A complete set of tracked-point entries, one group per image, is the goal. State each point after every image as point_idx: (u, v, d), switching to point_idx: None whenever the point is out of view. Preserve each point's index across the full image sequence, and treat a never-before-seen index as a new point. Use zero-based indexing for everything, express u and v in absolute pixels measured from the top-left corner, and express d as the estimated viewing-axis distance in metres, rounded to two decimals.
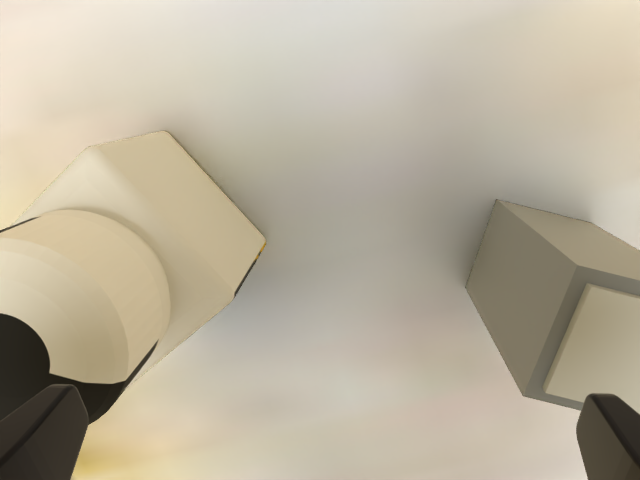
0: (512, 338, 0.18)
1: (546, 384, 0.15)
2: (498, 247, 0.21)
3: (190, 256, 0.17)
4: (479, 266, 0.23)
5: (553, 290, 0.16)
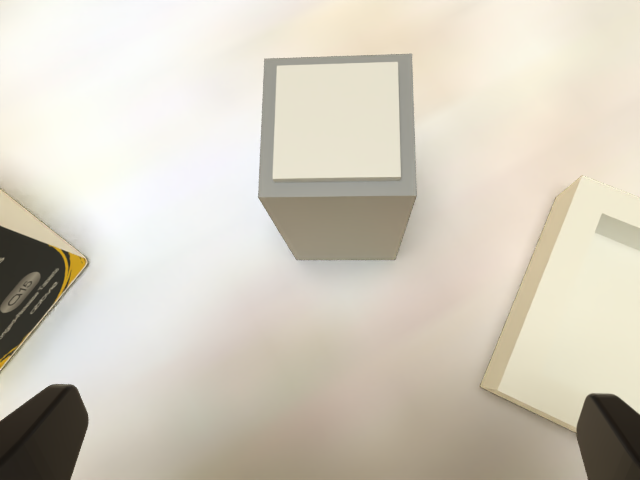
0: None
1: None
2: None
3: None
4: None
5: None
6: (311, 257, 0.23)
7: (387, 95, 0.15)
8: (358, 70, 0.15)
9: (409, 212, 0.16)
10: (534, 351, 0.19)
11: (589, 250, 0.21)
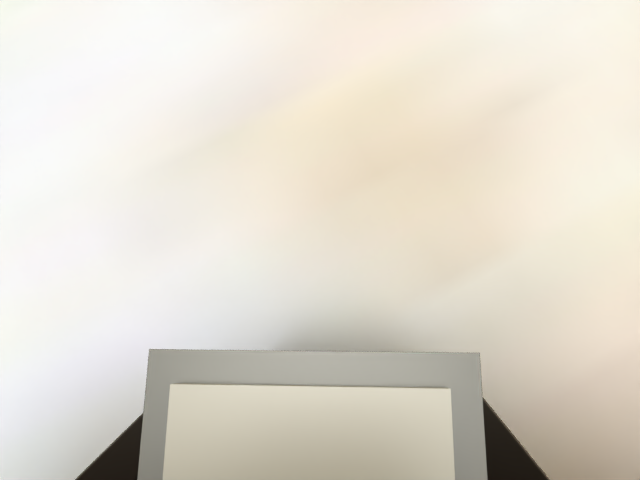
0: None
1: None
2: None
3: None
4: None
5: None
6: None
7: None
8: (358, 408, 0.06)
9: None
10: None
11: None
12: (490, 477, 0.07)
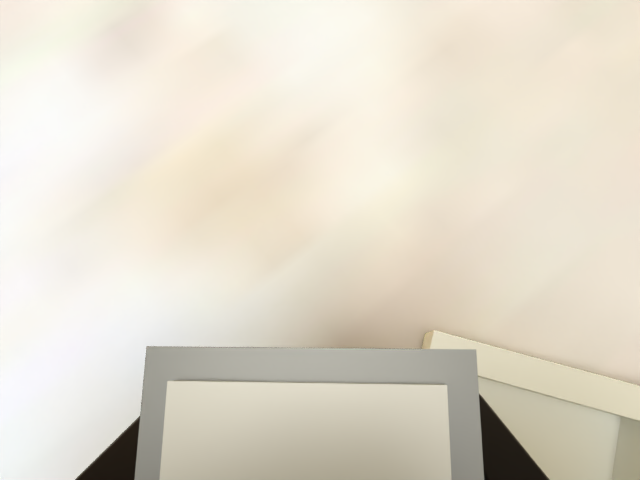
0: None
1: None
2: None
3: None
4: None
5: None
6: None
7: (424, 478, 0.06)
8: (354, 404, 0.06)
9: None
10: None
11: None
12: (490, 477, 0.07)
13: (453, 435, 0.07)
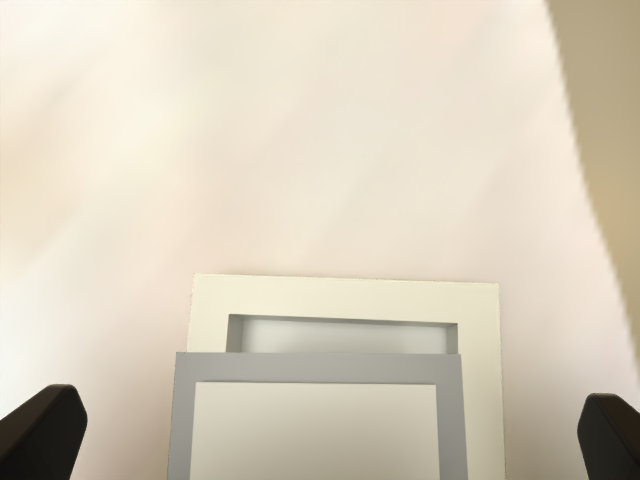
0: None
1: None
2: None
3: None
4: None
5: None
6: None
7: (416, 463, 0.07)
8: (357, 402, 0.07)
9: None
10: None
11: (261, 345, 0.17)
12: None
13: (441, 427, 0.08)
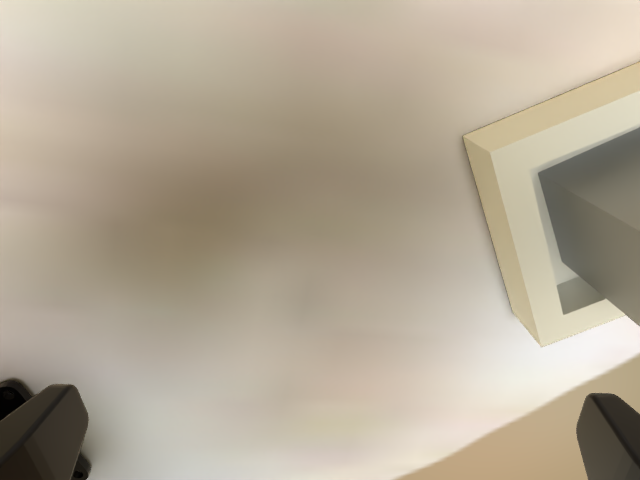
0: None
1: None
2: None
3: None
4: (586, 163, 0.19)
5: None
6: (548, 193, 0.20)
7: None
8: None
9: None
10: (544, 149, 0.18)
11: None
12: None
13: None
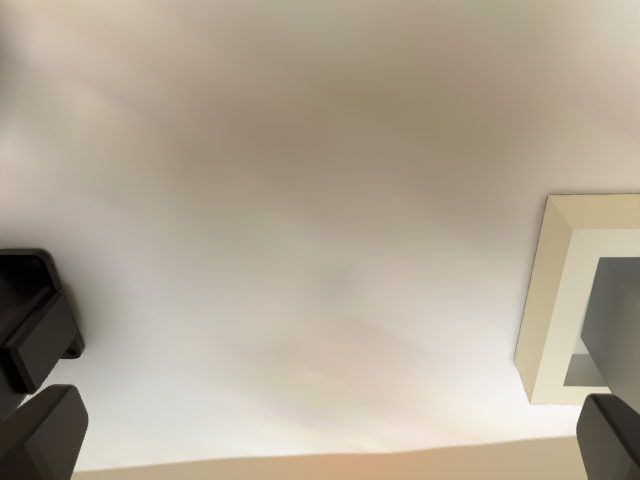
0: None
1: None
2: None
3: None
4: None
5: None
6: (601, 278, 0.21)
7: None
8: None
9: None
10: (622, 246, 0.18)
11: None
12: None
13: None
